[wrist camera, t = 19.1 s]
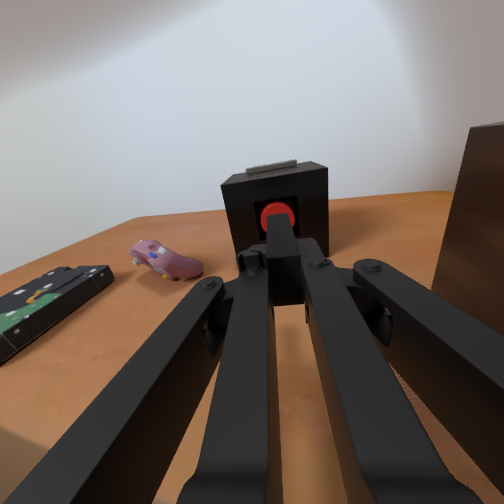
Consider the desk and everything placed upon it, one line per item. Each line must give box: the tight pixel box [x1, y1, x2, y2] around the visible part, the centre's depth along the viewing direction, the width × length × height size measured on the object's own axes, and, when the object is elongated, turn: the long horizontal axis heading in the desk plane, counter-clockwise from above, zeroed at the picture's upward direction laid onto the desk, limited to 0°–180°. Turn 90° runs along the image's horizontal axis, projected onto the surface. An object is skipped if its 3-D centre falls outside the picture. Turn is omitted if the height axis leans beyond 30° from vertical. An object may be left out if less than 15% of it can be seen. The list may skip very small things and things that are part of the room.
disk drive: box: [0, 265, 115, 363], centre depth 26 cm, size 10×3×15 cm
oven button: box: [261, 199, 295, 233], centre depth 26 cm, size 4×3×4 cm, turn 86°
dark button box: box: [220, 160, 329, 257], centre depth 30 cm, size 12×10×12 cm
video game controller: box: [128, 240, 203, 281], centre depth 29 cm, size 10×5×7 cm, turn 50°
